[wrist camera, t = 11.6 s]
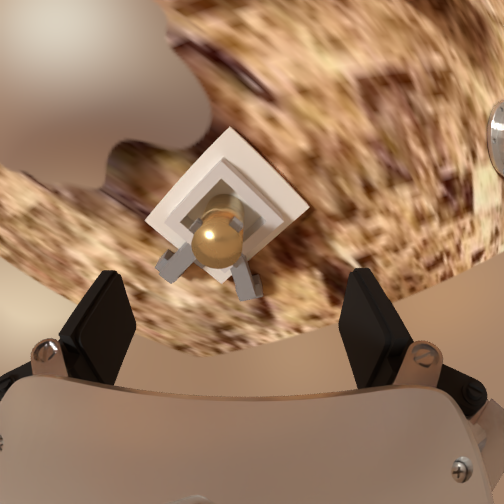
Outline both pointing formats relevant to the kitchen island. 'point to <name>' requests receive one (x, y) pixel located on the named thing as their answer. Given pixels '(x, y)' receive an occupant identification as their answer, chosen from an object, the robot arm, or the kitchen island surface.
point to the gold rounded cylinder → (219, 233)
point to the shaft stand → (234, 183)
